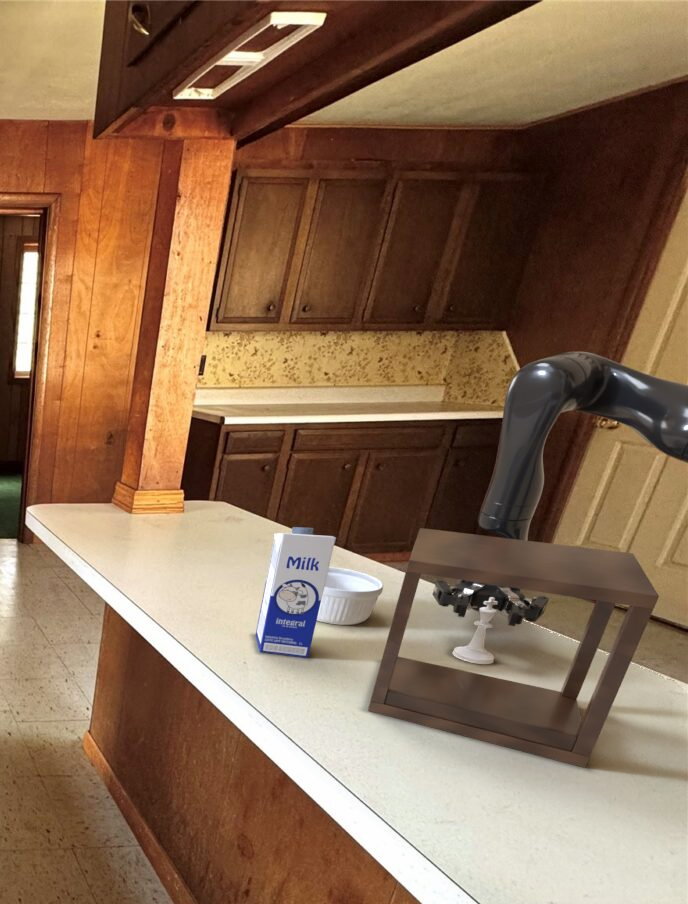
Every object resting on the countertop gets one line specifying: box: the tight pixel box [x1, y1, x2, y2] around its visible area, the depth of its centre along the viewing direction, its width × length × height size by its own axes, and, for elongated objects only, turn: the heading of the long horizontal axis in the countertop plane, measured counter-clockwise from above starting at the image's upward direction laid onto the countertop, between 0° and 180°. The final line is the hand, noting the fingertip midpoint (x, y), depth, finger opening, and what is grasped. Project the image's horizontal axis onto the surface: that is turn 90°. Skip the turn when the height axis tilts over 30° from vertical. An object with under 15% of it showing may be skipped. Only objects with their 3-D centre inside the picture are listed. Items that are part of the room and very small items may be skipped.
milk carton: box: [255, 526, 337, 659], centre depth 104 cm, size 7×7×20 cm
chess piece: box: [451, 597, 498, 665], centre depth 101 cm, size 5×5×10 cm
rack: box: [367, 527, 660, 768], centre depth 85 cm, size 21×18×22 cm
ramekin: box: [316, 566, 384, 626], centre depth 119 cm, size 13×13×7 cm
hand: (488, 615), depth 98 cm, fingers open, 5 cm apart
